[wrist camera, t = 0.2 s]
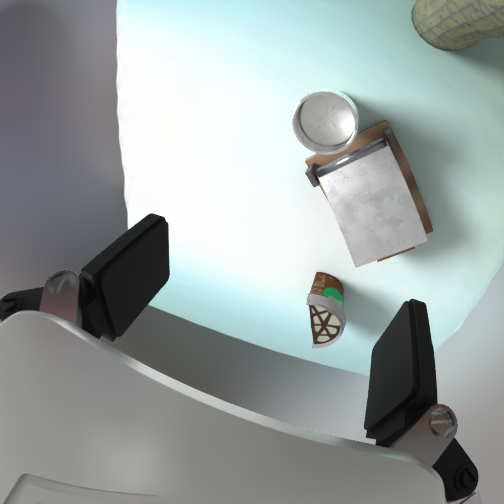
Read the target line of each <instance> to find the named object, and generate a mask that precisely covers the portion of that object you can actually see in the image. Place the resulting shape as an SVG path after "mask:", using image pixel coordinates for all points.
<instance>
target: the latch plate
mask: <svg viewBox="0 0 504 504" xmlns="http://www.w3.org/2000/svg"><path fill="white" fill-rule="evenodd" d="M382 137H384V139H385V141H387V143H388V145H389V147H390V149H391V151H392V153H393V155H394V157H395V160H396V162H397V164H398V166H399V168H400V170H401V173H402V175H403V177H404V179H405V182H406V184H407V186H408V189H409V191H410V194H411V196H412V199H413V201H414V204H415V206H416V209H417V211H418V214H419V217H420V219H421V222H422V225H423V228H424V231H425V234H427V233H430V232H432V231H433V228H432V225H431V222H430V219H429V217H428V214H427V211H426V208H425V205H424V203H423V200H422V197H421V195H420V192H419V190H418V187H417V185H416V182H415V180H414V177H413V175H412V173H411V170H410V168H409V166H408V163H407V161H406V159H405V157H404V155H403V152H402V150H401V148H400V146H399V144H398V142H397V140H396V138H395V136H394V134H393V132H392V130H391V128H390V126H389V124H388V122H387V121H386V120H385V121H383V122H381V123H379V124H377V125H374V126H372V127H370V128H368V129H366V130H364V131H362V132H360V133H358V134H356V137H355V139H354V141H353V142H352V144H351V145H350V146H349V147H348V148H346V149H345V150H343V151H341V152H339V153H336V154H330V155H324V154H319V153H317V154H315V155H313V156H311V157H310V158H308V159H306V161H305V162H306V164H307V166H308V169H307V171H306V173H305V174H306V175H307V177H308V179H309V180H310V182H311V184H312V185H313V187H316V186H318V185H319V186H320V187H321V189H322V191H323V193H324V194H325V191H324V189H323V187H322V185H321V183H320V180H319V178H318V176H317V174H316V169H317V168H319V167H321V166H323V165H325V164H327V163H329V162H331V161H334V160H336V159H338V158H340V157H342V156H344V155H346V154H348V153H350V152H352V151H354V150H356V149H359V148H361V147H363V146H365V145H367V144H369V143H371V142H373V141H376V140H378V139H380V138H382ZM325 196H326V194H325ZM326 198H327V196H326ZM327 200H328V198H327ZM328 201H329V200H328ZM414 248H415V246H414V247H411V248H408V249H406V250H403V251H400V252H398V253H395V254H392V255H389V256H387V257H384V258H381V259H378V260H377V261H378V262H379V261H382V260H384V259H387V258H390V257H393V256H395V255H398V254H401V253H403V252H406V251H409V250H412V249H414Z"/></svg>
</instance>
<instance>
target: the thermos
mask: <svg viewBox="0 0 504 504" xmlns="http://www.w3.org/2000/svg"><path fill="white" fill-rule="evenodd" d="M412 22H413V25H414V28H415V29H416V31H417V32H418V34H419V35H420V37H422V38H423V39H424V40H425V41H426V42H427V43H428V44H430V45H432V46H433V47H435V48H438V49H441V50H458V49H463V48H467V47H470V46H473V45H475V44H476V43H477V42H478V41H479V40H481V39H485V38H489V37H495V38H502V39H504V0H417V1H416V3H415V5H414V7H413V10H412Z"/></svg>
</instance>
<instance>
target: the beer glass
mask: <svg viewBox="0 0 504 504" xmlns="http://www.w3.org/2000/svg"><path fill="white" fill-rule="evenodd" d="M292 125H293V130H294V133H295V135H296V137H297V138H298V140H299V141H300V142H301V143H302V144H303V145H304V146H305V147H306V148H307V149H309V150H311V151H313V152H315V153H319V154H324V155H330V154H336V153H339V152H341V151H343V150H345V149H346V148H348V147H349V146H350V145H351V144H352V142H353V141H354V139H355V137H356V134H357V131H358V128H359V114H358V110H357V108H356V106H355V104H354V103H353V101H352V100H351V99H350V98H349V97H348V96H347V95H346V94H344V93H342V92H340V91H338V90H334V89H318V90H315V91H313V92H311V93H309V94H308V95H306V96H305V97H304V98H302V99H301V100H300V101H299V103H298V104H297V105H296V107H295V109H294V112H293V116H292Z"/></svg>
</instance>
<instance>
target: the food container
mask: <svg viewBox="0 0 504 504" xmlns="http://www.w3.org/2000/svg"><path fill="white" fill-rule="evenodd" d="M307 305H309V309H310V318H311V328H312V334H313V346H312V348H322V347H326V346H329V345H331V344H333V343H334V342H335V341H336V340H337V339H338V338H339V337H340V336H341V334H342V332H343V330H344V328H345V325H346V318H345V314H344V312H343V287H342V285H341V283H340V282H339V281H338V280H337V279H336V278H335V277H333V276H332V275H329V274H327V273H323V272H316V276H315V279H314V282H313V285H312V288H311V291H310V293H308V298H307Z"/></svg>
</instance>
